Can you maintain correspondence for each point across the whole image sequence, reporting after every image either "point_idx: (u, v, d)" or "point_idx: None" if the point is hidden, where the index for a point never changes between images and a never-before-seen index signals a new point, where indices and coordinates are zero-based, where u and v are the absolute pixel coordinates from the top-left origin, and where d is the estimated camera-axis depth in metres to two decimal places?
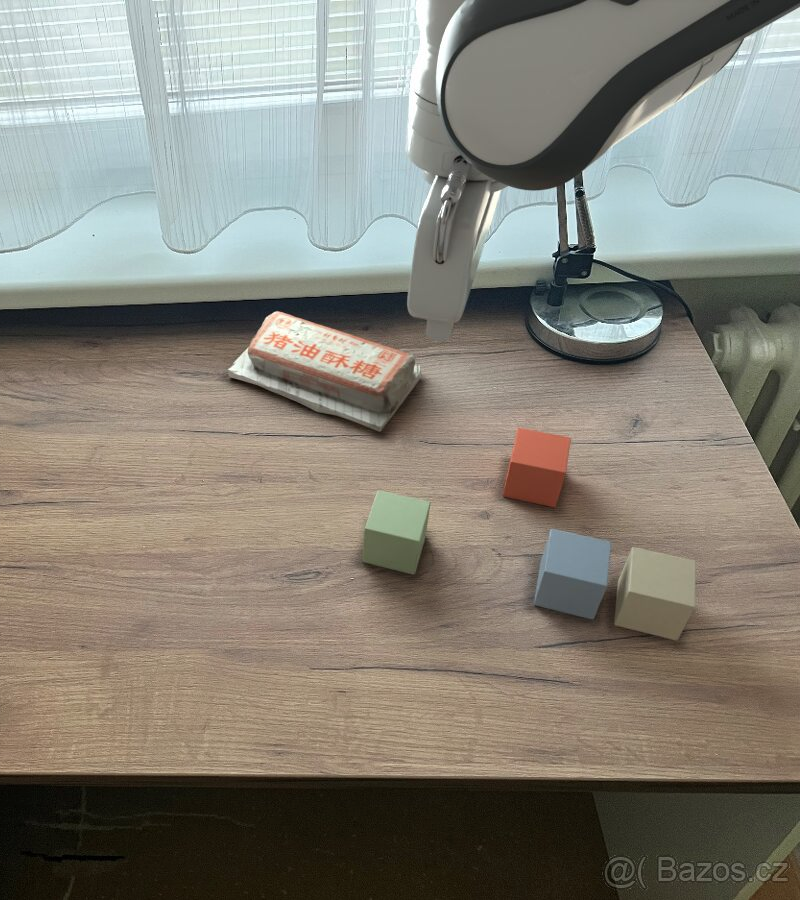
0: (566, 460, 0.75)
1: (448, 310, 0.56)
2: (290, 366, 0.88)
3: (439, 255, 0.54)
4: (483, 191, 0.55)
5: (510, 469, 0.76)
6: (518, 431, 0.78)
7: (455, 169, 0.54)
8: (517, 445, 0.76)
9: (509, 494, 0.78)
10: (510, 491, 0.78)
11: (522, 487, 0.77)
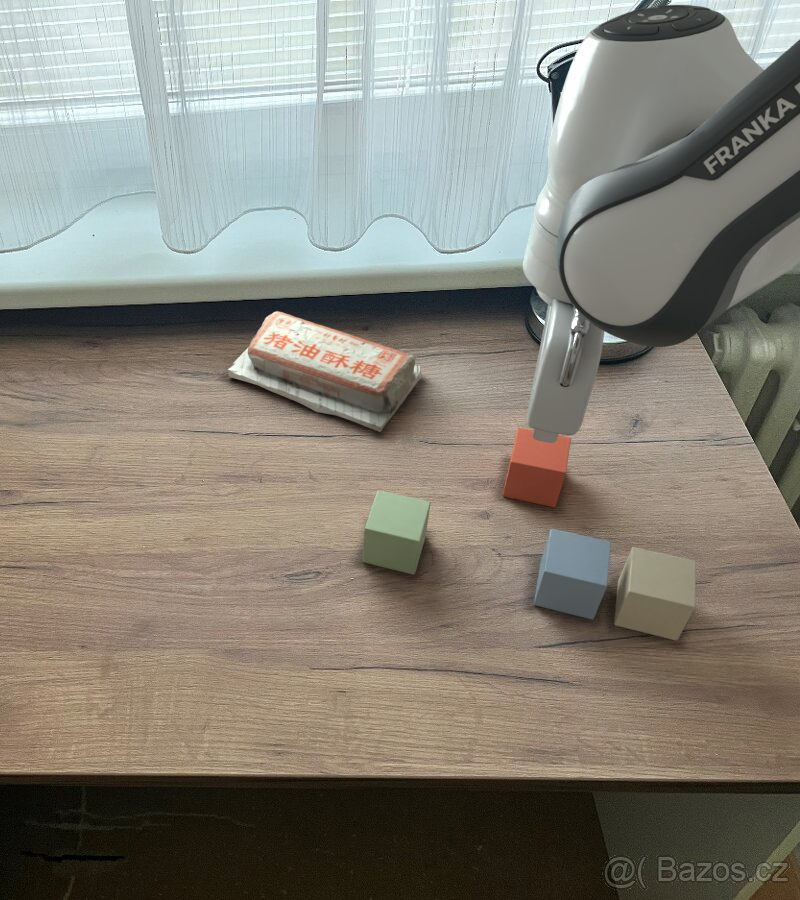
0: (566, 460, 0.75)
1: (568, 426, 0.61)
2: (289, 366, 0.88)
3: (566, 381, 0.58)
4: None
5: (510, 469, 0.76)
6: (518, 431, 0.78)
7: None
8: (517, 445, 0.76)
9: (509, 494, 0.78)
10: (510, 491, 0.78)
11: (522, 487, 0.77)
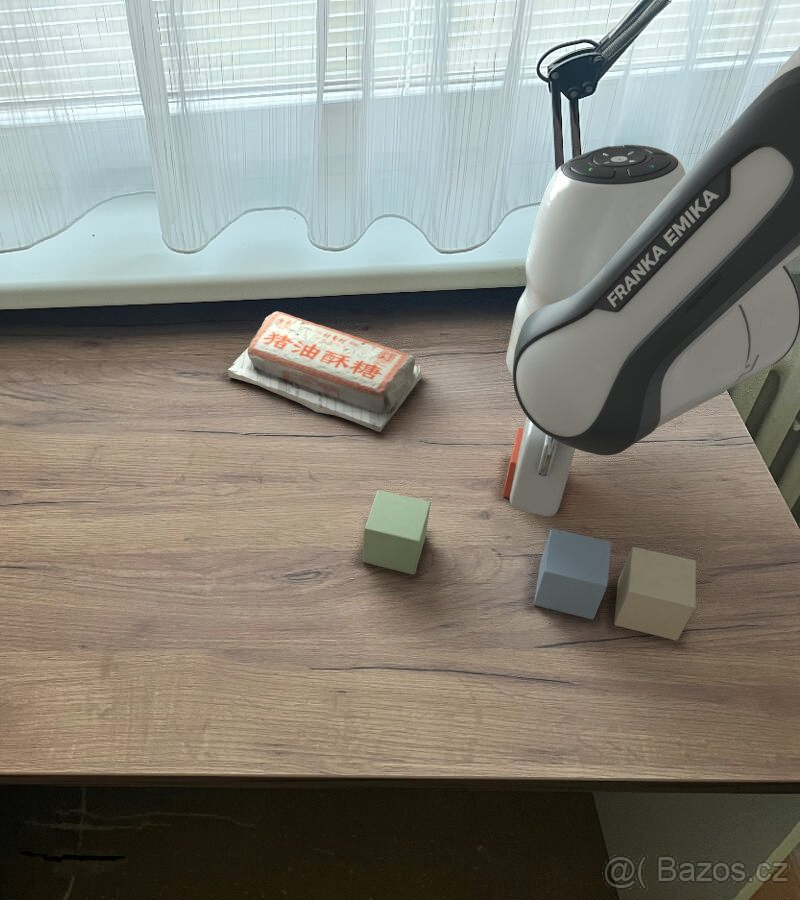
0: None
1: (547, 509, 0.67)
2: (289, 366, 0.88)
3: (544, 472, 0.64)
4: None
5: (510, 469, 0.76)
6: (518, 431, 0.78)
7: None
8: (517, 445, 0.76)
9: (509, 494, 0.78)
10: (510, 491, 0.78)
11: None
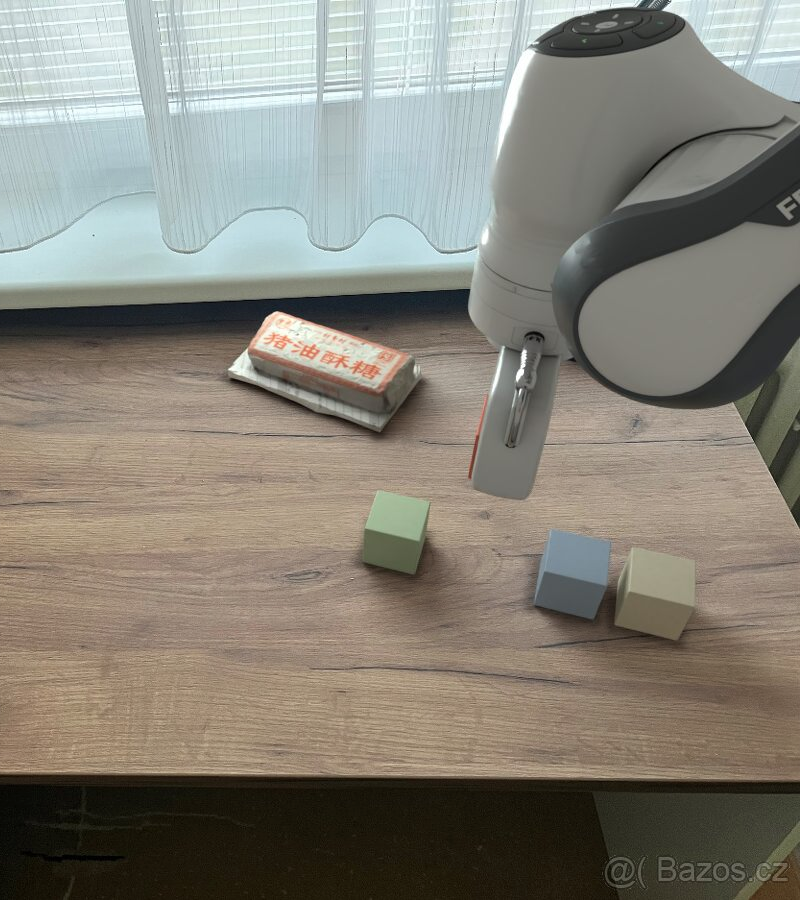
0: None
1: (517, 491, 0.53)
2: (289, 366, 0.88)
3: (511, 442, 0.50)
4: (556, 369, 0.52)
5: (476, 444, 0.62)
6: (486, 399, 0.64)
7: (528, 349, 0.51)
8: None
9: None
10: None
11: None
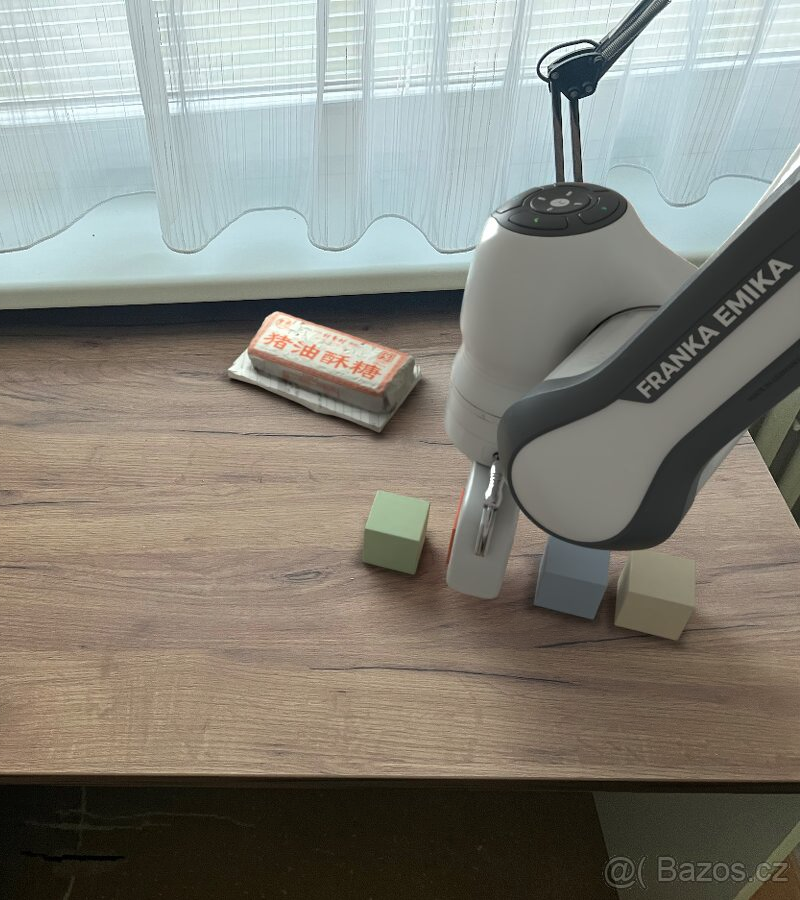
0: None
1: (486, 592, 0.59)
2: (289, 366, 0.88)
3: (480, 554, 0.56)
4: None
5: (452, 536, 0.68)
6: (463, 492, 0.70)
7: (495, 470, 0.57)
8: None
9: None
10: None
11: None
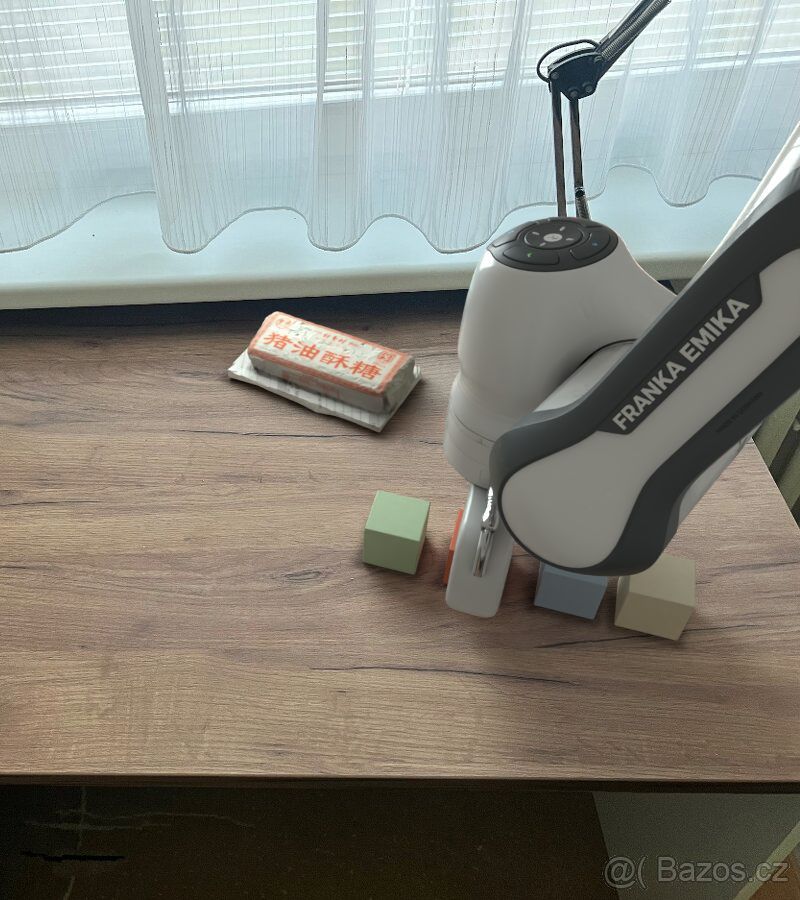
0: None
1: (484, 611, 0.61)
2: (289, 366, 0.88)
3: (478, 575, 0.58)
4: None
5: (449, 557, 0.70)
6: (459, 513, 0.72)
7: (493, 493, 0.58)
8: (457, 530, 0.70)
9: None
10: None
11: None
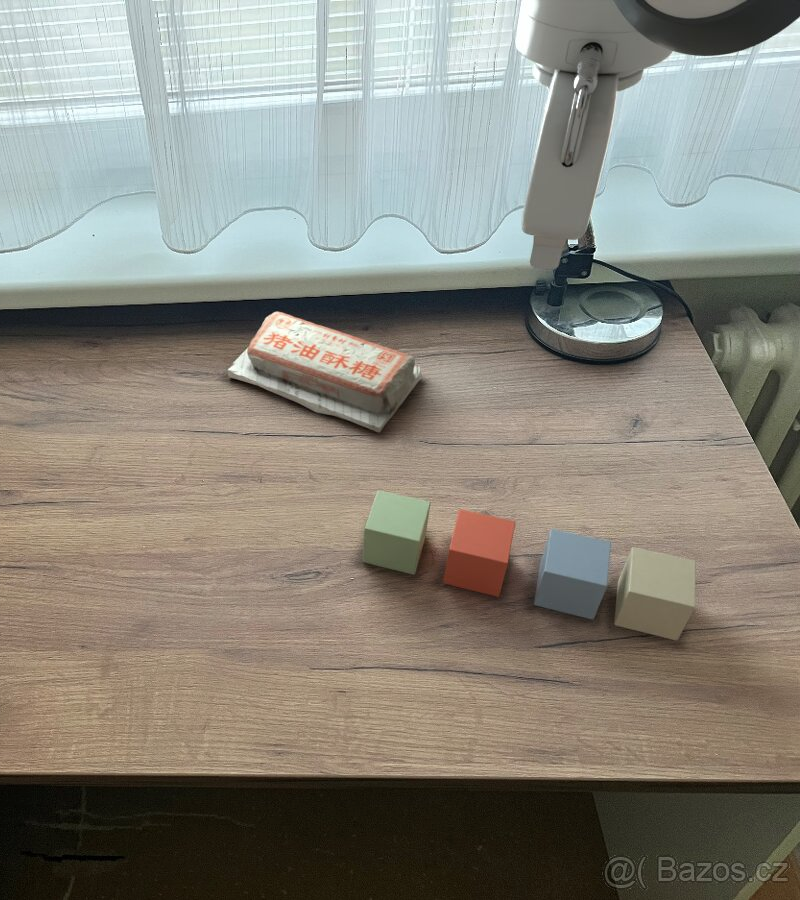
0: (509, 548, 0.69)
1: (572, 223, 0.49)
2: (289, 366, 0.88)
3: (570, 154, 0.47)
4: (615, 85, 0.48)
5: (449, 557, 0.70)
6: (459, 513, 0.72)
7: (587, 56, 0.47)
8: (457, 530, 0.70)
9: (449, 581, 0.72)
10: (450, 578, 0.72)
11: (462, 576, 0.71)
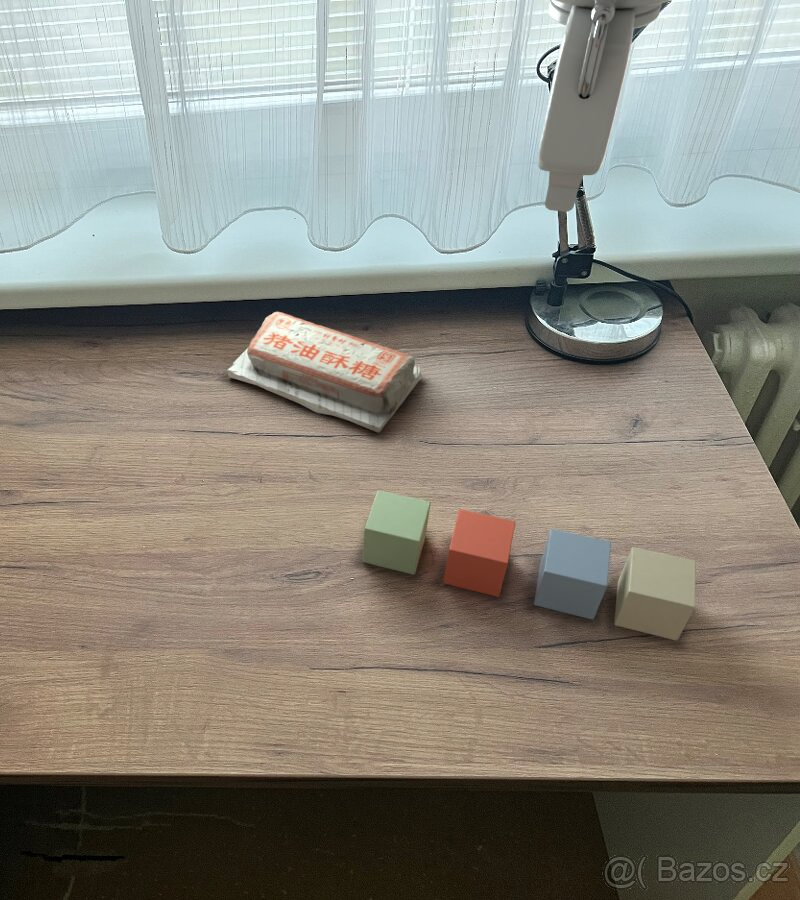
0: (509, 548, 0.69)
1: (588, 157, 0.50)
2: (289, 366, 0.88)
3: (587, 85, 0.47)
4: (632, 18, 0.49)
5: (449, 557, 0.70)
6: (459, 513, 0.72)
7: None
8: (457, 530, 0.70)
9: (449, 581, 0.72)
10: (450, 578, 0.72)
11: (462, 576, 0.71)
